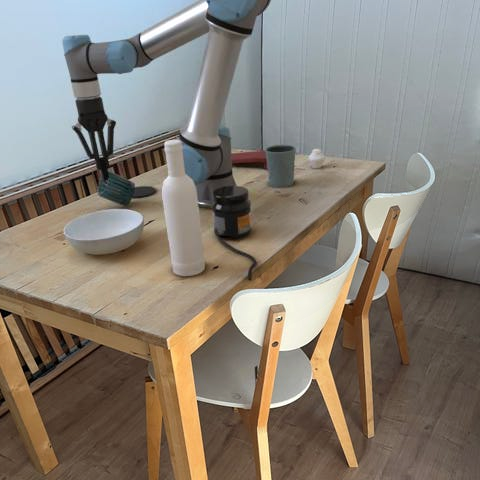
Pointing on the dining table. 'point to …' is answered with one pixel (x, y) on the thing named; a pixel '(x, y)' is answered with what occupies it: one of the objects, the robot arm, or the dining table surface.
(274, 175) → the green plant pot
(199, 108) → the robot arm
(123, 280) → the dining table surface
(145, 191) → the coaster
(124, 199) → the teal ridged cylinder
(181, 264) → the bottle
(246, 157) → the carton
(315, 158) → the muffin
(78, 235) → the serving bowl
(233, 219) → the supplement container
